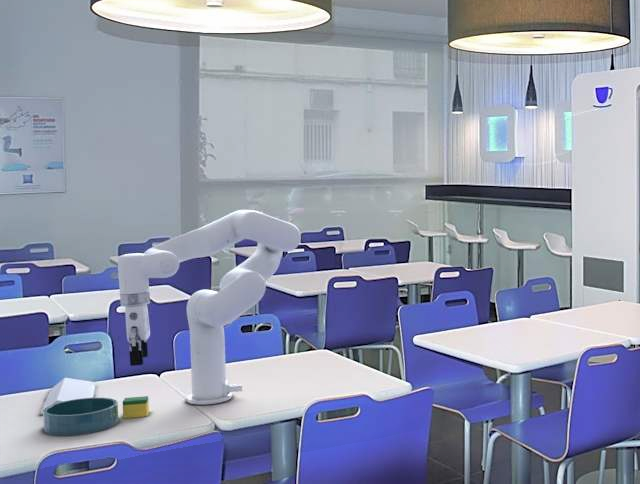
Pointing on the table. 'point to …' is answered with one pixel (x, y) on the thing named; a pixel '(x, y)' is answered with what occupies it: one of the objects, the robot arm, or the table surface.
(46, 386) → the table surface
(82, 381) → the crown molding
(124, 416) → the sponge
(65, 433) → the bowl
